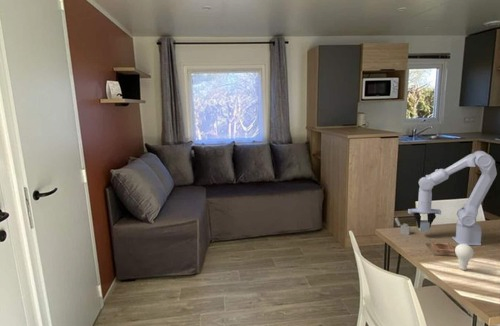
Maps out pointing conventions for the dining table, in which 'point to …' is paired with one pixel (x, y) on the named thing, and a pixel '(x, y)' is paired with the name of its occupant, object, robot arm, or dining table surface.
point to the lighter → (403, 227)
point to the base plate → (442, 249)
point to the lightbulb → (463, 255)
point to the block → (424, 226)
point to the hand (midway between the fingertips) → (423, 227)
